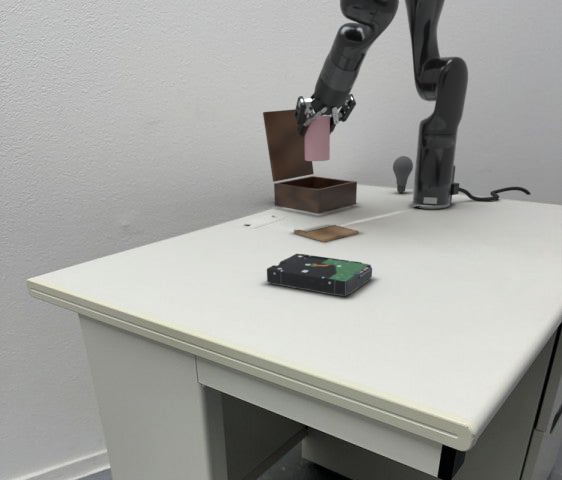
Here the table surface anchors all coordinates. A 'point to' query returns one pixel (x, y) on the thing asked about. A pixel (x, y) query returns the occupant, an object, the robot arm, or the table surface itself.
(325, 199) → the chest
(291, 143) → the chest lid
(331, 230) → the cork pad
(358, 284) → the disk drive
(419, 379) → the table surface
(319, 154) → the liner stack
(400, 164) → the light bulb
